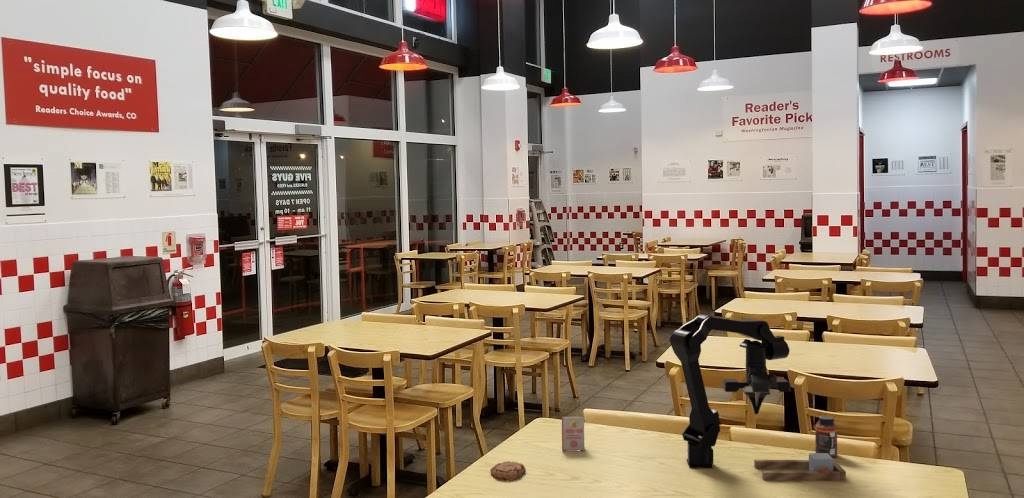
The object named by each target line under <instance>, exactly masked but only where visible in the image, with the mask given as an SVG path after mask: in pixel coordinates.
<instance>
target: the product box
mask: <svg viewBox="0 0 1024 498" xmlns="http://www.w3.org/2000/svg"><path fill="white" fill-rule="evenodd" d="M562 450H584V451H585V417H584V416H561V451H562Z"/></svg>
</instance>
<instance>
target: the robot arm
mask: <svg viewBox="0 0 1024 498" xmlns="http://www.w3.org/2000/svg"><path fill="white" fill-rule="evenodd" d="M712 330H713V331H718V332H719V331H721V332H726V333H727V332H729V333H734V334H735V333H736V334H738V335H740V336H742V337H745V338H744V340H743V341H742V342H741V343H740V344H739V347H741V348H744V349H745V381H738V380H737V379H736V378H724V379H723V380H722V382H721V388H722V390H724V392H726V393H737V392H738V391H739V390H740V389H741V391H742V392H743V394H744V395H746V396H747V397H748V400H749V402H750V406H751V408H752V411H753V414H754V415H759V412H760V409H761V407H762V403H763V401H764V400H765V398H766V397H767V395H771V392H770V390H771V389H777V390H778V392H780V393H790V392H792V388H791V387H792V386H791V383H790V382H789V381H788V380H787V379H786V378H778V377H777V374H773V373H772V374H771V373H770V374H768V370H767V361H774V360H780V359H786V358H788V356H789V355H790V347H789V344H788V342H787V341H785V336H783V335H774V333H773V332H772V331H771V328H770V326H769V323H768V321H766V320H762V319H761V320H760V319H756V318H751V317H750V318H748V317H747V318H740V319H731V318H723V317H715V316H712V315H707V314H699V315H696V317H695V318H694V319H692V320H690V321H688V322H686V323H685V324H683V325H682V326H680V327H679V328H678V329H676V330H674V331H673V332H672V334H671V335H670V337H669V344H670V347H671V349H672V351H673V353H674V354H675V356H676V358H677V359H678V360H679V361H680V363H681V368H682V373H683V377H684V381H685V384H686V385H685V386H686V390H687V394H688V397H689V402H690V408H691V411H690V413H689V417H688V419H689V423H688V425H687V427H686V428H685V430H683V432H682V434H681V435H682V438H683V441H685V442H687V459H686V462H687V465H688V467H689V468H691V469H692V468H693V469H694V468H695V469H696V468H697V469H698V468H701V469H704V468H706V469H711V468H714V466H713V464H714V449H713V447H715V446H716V445H717V440H718V436H719V433H720V432H721V426H722V423H721V420H720V414H719V411H717V410H715V409H712V408H711V407H710V406H709V401H708V400H709V399H708V397H707V393H706V387H705V384H704V383H705V382H704V379H703V374H702V370H701V366H700V362H699V359H700V356H701V352H702V345H701V344H703V343H704V342H705V341H706V340H707V338H708V337H709V333H710V332H711V331H712ZM751 339H753V340H751Z"/></svg>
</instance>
